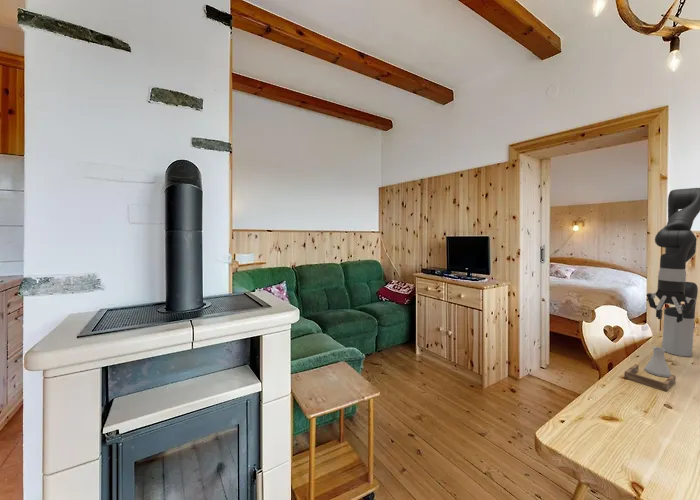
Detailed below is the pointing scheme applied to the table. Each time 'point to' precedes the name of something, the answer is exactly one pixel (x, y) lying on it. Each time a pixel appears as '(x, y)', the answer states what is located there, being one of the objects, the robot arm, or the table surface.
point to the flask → (658, 363)
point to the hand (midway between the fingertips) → (668, 320)
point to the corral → (648, 379)
